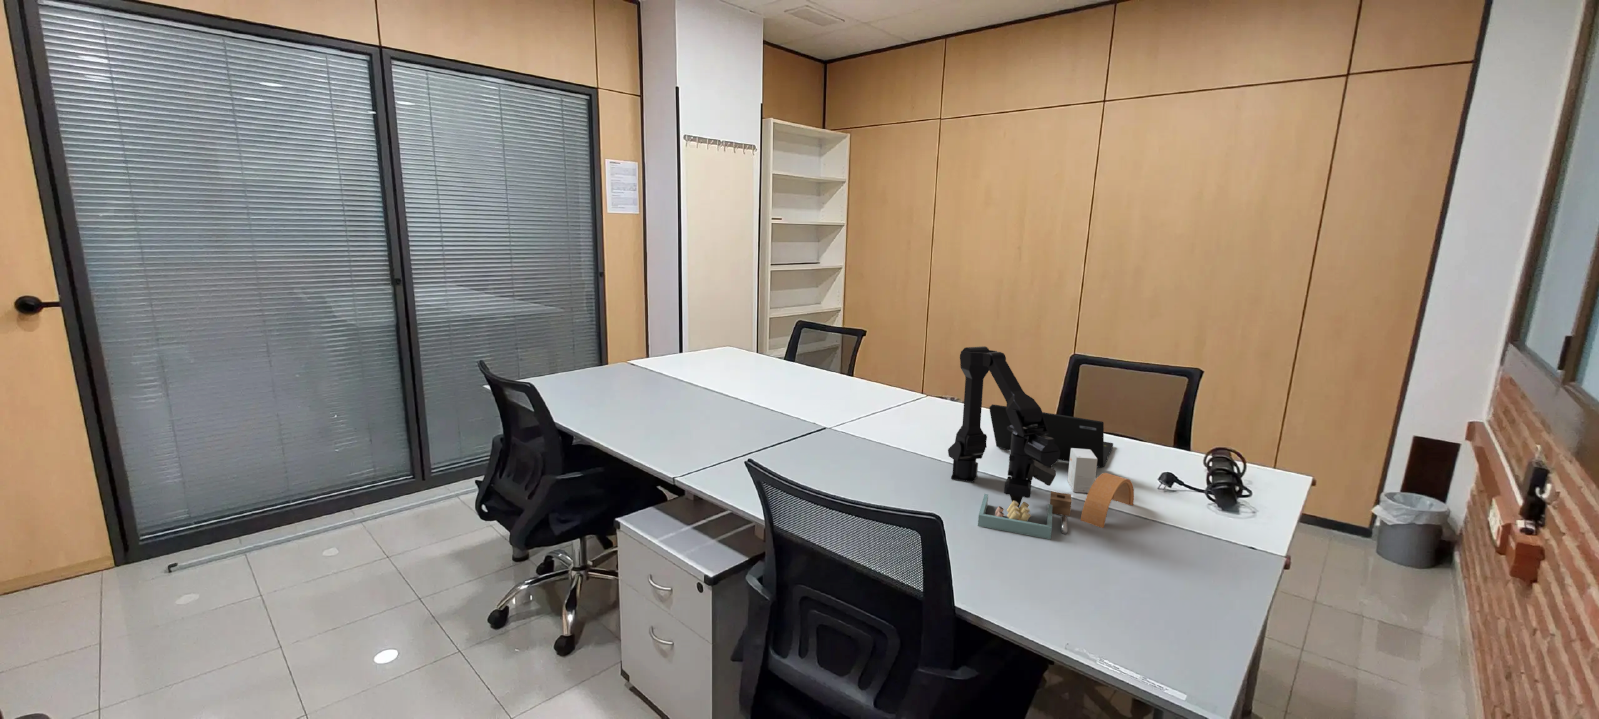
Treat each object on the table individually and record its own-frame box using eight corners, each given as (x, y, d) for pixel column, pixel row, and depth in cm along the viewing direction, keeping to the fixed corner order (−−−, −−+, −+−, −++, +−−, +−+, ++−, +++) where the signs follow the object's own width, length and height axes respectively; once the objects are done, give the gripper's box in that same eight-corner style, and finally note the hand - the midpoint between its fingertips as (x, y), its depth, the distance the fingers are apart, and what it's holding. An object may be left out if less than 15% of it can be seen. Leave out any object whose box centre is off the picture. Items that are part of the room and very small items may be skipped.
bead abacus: (1029, 501, 162) (996, 497, 164) (1031, 514, 155) (997, 509, 157) (1027, 518, 163) (994, 514, 165) (1029, 532, 156) (995, 527, 158)
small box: (1093, 494, 178) (1098, 459, 176) (1072, 492, 179) (1076, 457, 177) (1087, 482, 186) (1091, 449, 183) (1066, 481, 187) (1070, 447, 184)
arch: (1079, 520, 162) (1084, 484, 160) (1111, 498, 176) (1116, 464, 174) (1102, 528, 158) (1107, 491, 156) (1133, 505, 172) (1138, 470, 169)
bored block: (1049, 512, 166) (1050, 498, 165) (1049, 505, 171) (1051, 491, 170) (1069, 516, 164) (1071, 502, 163) (1069, 508, 169) (1071, 494, 168)
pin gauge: (1060, 533, 155) (1061, 528, 155) (1060, 519, 162) (1061, 514, 162) (1067, 534, 155) (1067, 529, 154) (1066, 520, 162) (1067, 515, 162)
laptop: (1113, 448, 215) (1121, 393, 211) (1096, 485, 185) (1104, 422, 180) (1014, 429, 233) (1019, 378, 229) (983, 461, 202) (987, 403, 198)
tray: (977, 525, 158) (978, 514, 158) (983, 504, 171) (984, 493, 170) (1050, 539, 152) (1051, 527, 152) (1051, 515, 165) (1052, 504, 164)
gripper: (1055, 469, 151) (1048, 529, 154) (1056, 444, 167) (1050, 498, 171) (1006, 462, 155) (1001, 521, 158) (1011, 438, 171) (1006, 491, 175)
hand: (1016, 507), depth 165 cm, fingers closed
